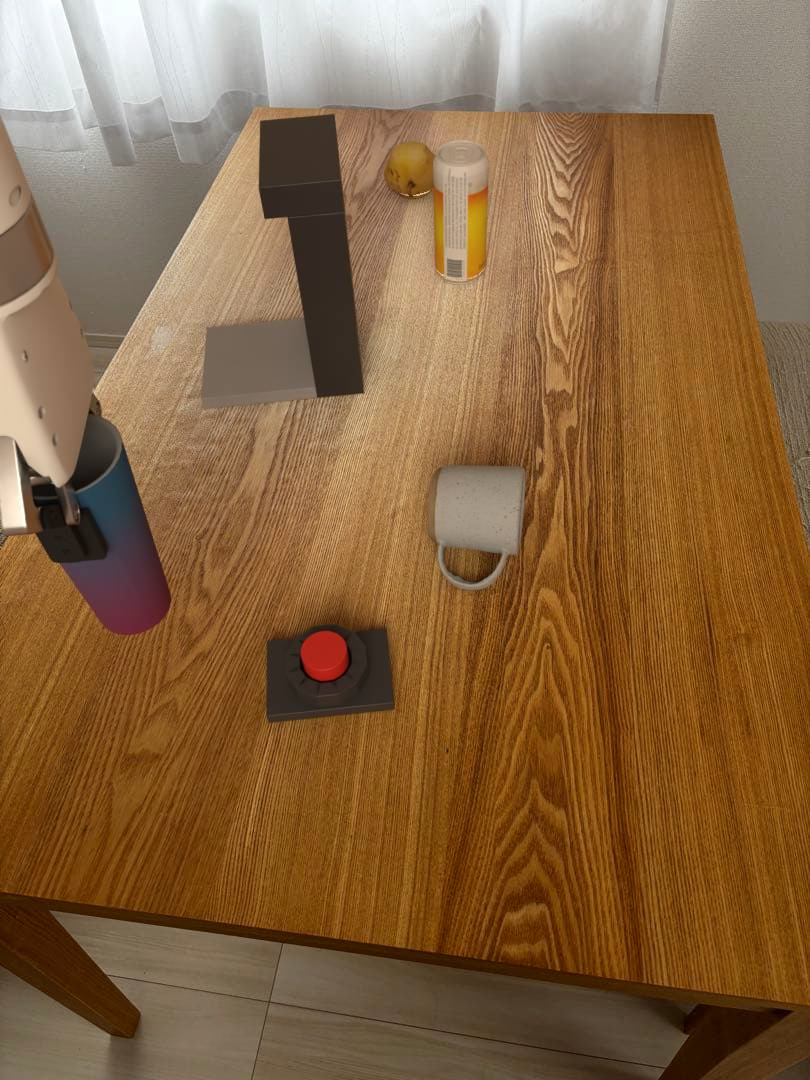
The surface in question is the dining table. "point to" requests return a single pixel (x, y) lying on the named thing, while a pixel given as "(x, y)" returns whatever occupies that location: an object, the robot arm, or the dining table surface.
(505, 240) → the dining table surface
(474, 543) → the ceramic mug
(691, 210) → the dining table surface
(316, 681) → the pad
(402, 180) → the fruit
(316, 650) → the button
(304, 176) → the coffee maker
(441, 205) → the beer can
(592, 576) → the dining table surface
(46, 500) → the cup
